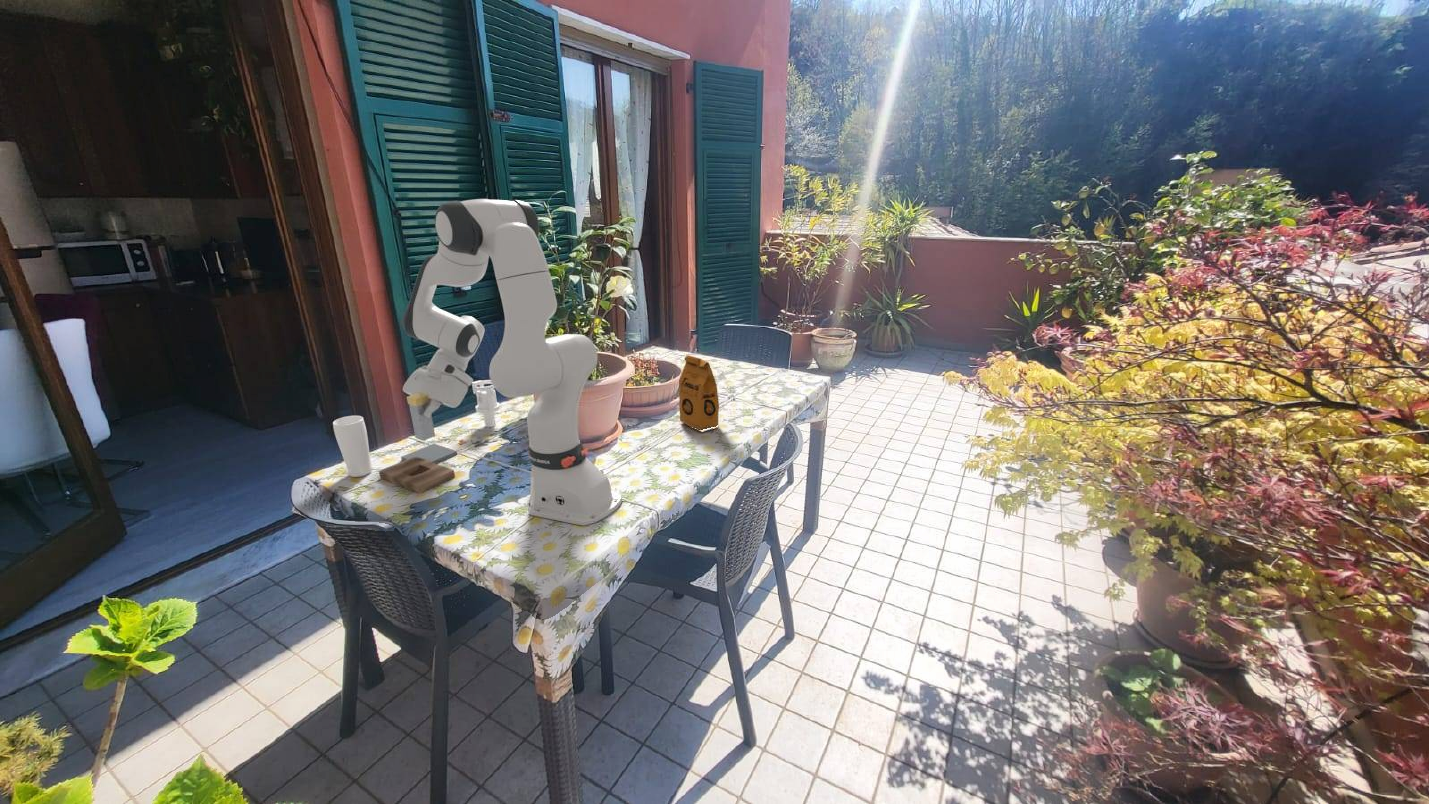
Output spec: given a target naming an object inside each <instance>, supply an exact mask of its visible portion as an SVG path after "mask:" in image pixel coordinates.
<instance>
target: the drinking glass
mask: <svg viewBox="0 0 1429 804" xmlns="http://www.w3.org/2000/svg"><path fill="white" fill-rule="evenodd" d="M332 426H333V432H334V436H335V439H336V441H337V444H338V447H339V449H340V450H339V451H340V452H341V455H342V458H343V460H344V464H345V466H346V469H347V474H348V476H349V477H352V478H360V477H365V476H367V475H369V474H370V473H372V470H373V467H372V463H371V462H372V461H371V455H370V454H371V453H370V448H369V438H368V432H367V427H366V423H365V420H364V417H363V416H361V415H348V416H343V417H340V418H337V419H335V420H334V421H333V422H332Z"/></svg>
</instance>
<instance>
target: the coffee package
mask: <svg viewBox="0 0 1429 804" xmlns="http://www.w3.org/2000/svg"><path fill="white" fill-rule="evenodd" d="M684 361H685V364H684V366H683V368H682V371H681V375H680V376H679V379H678V389H679V390H678V399H679V405H678V408H679V422H680V421H681V422H680V423H683V424H684V425H686V426H688V427H690V428H692V427H693V428H696V429H698V430H703V429H707V428H711V427H716V426H717V425H718V426H719V411H720V409H719V408H720V402H719V393H718V384H717V381H716V378H715V375H714V373H713V370H712V368H711V364H710V362H709V361H706V360H704V359H702V358H699V357H695V356H692V355H689V354H687V355H685V357H684ZM693 428H692V429H693ZM696 429H695V430H696ZM698 430H697V431H698Z"/></svg>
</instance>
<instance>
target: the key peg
mask: <svg viewBox="0 0 1429 804" xmlns="http://www.w3.org/2000/svg"><path fill="white" fill-rule="evenodd" d="M428 396H429V395H427V394H423V393H417V394H414V395H408V396H406V401H407V404H408V406H409V411H410V417H411V421H412V426H413V432H414V436H415V439H418V440H420V441H426V440H429V439H432V438H434V437H436V433H435V427H434V421H433V417H432V415H433V414H431V416H430V417H429V418H428V417H425V416H423V415H421V413H422V412H423V409H426V408H427V407H428V406H429V405H430V402H431V401H430V400H429V398H428Z"/></svg>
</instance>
